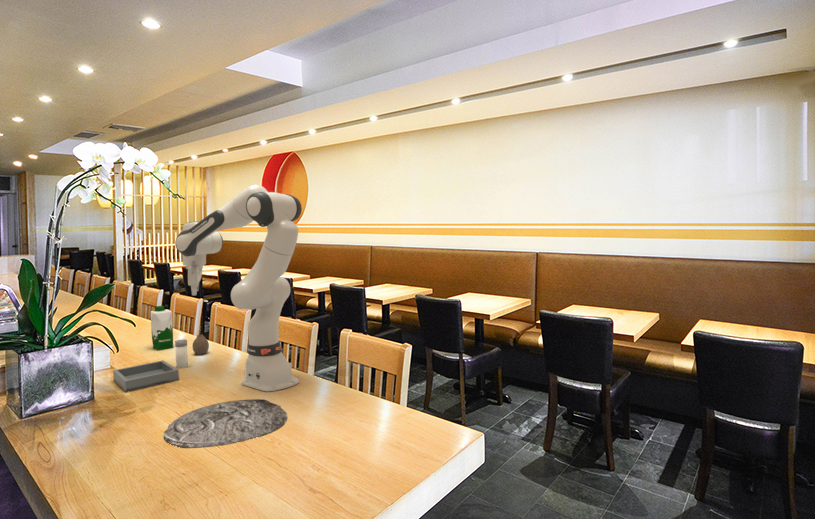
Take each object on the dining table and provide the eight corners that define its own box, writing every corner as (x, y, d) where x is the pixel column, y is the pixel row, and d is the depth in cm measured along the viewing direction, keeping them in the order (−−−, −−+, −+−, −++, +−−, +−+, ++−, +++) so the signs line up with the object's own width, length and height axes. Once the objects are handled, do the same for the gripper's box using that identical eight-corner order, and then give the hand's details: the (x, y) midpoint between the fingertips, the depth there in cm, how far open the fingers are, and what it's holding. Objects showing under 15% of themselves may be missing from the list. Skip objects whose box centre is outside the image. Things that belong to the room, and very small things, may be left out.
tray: (178, 379, 182) (178, 369, 182) (126, 392, 170) (125, 381, 170) (163, 369, 195) (163, 360, 195) (113, 380, 183) (112, 370, 183)
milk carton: (170, 344, 236) (167, 304, 234) (175, 347, 229) (173, 307, 227) (150, 347, 230) (148, 307, 228) (156, 351, 223) (153, 309, 222)
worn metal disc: (146, 424, 143) (146, 422, 143) (255, 393, 168) (255, 392, 168) (187, 463, 120) (187, 461, 120) (306, 420, 144) (306, 419, 144)
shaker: (190, 366, 199) (188, 340, 198) (178, 368, 196) (177, 342, 195) (186, 364, 203) (184, 338, 202) (174, 366, 200) (173, 340, 199)
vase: (205, 355, 215) (204, 336, 214) (190, 355, 215) (189, 336, 214) (211, 351, 222) (210, 333, 221) (197, 351, 222) (196, 333, 221)
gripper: (200, 263, 189) (201, 297, 190) (204, 258, 208) (205, 289, 210) (183, 263, 187) (184, 297, 188) (188, 258, 206) (189, 289, 208)
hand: (195, 293), depth 199 cm, fingers open, 8 cm apart
